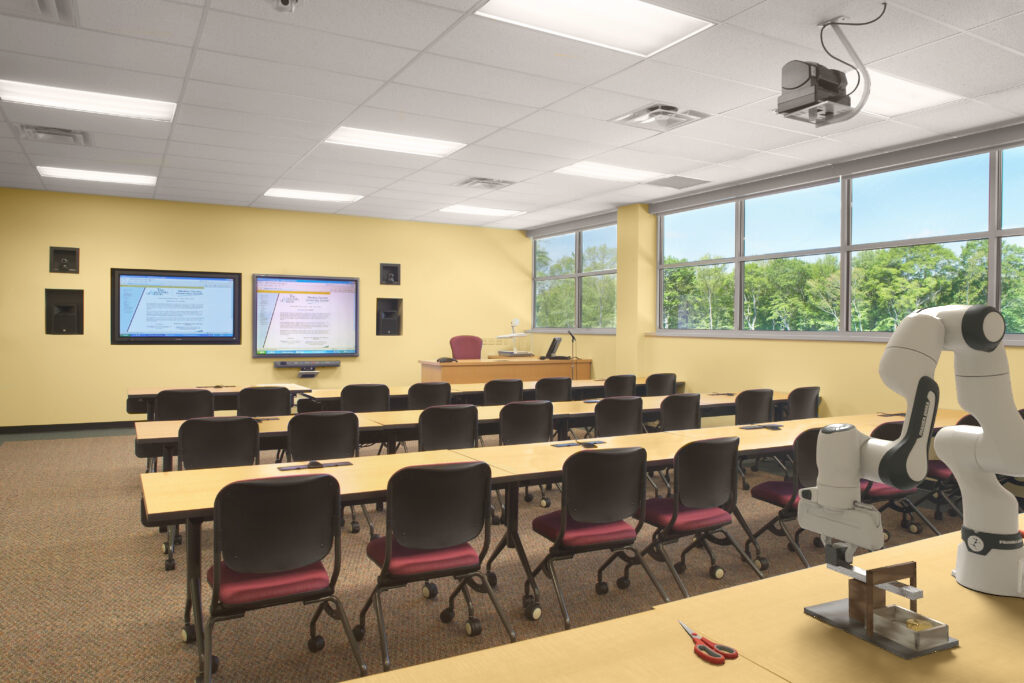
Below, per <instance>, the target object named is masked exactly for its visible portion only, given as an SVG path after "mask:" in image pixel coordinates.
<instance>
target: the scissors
mask: <svg viewBox="0 0 1024 683" xmlns="http://www.w3.org/2000/svg"><path fill="white" fill-rule="evenodd" d="M677 621H678V624H680V625H681V627H682V628H683V629H684V630H685V631H686V633H687V634H688V635H689V636H690V638H691V640H692V642H694V644H695V645H694V647H693V651H694V653H695V654H696V655H697V656H698V657H700V658H701V659H702V660H704V661H705V662H708V663H711V664H713V665H722V664H725V662H726V659H728V660H734V659H737V658H738V657H739V653H738V651H737V649H735V648H733V647H730V646H729V645H728V646H727V645H724V644H720V643H716V642H713V641H712V640H710V639H708V638H707V637H704V636H700V634H698V633H696V632H695V631H693V630H692V629H691V628H690V627H689V626H687V625H686V624H685V623H683V622H682V621H681V620H679V619H678V620H677ZM702 650H704V651H705V652H706V653H705V652H704V651H702ZM722 650H723V651H722ZM724 651H727V652H724ZM707 653H708V654H707Z"/></svg>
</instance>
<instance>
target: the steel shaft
mask: <svg viewBox="0 0 1024 683" xmlns="http://www.w3.org/2000/svg"><path fill="white" fill-rule="evenodd" d="M847 548H848V547H846V542H843V541H840V542H834V543H833V542H832V544H827V545H825V546H824V560H825V561H824V562H825V564H826V569H828V570H830V571H834V572H837V573H839V574H842V575H844V576H846V577H847V576H848V577H850V578H851V579H853V578H855V579H857V580H860V581H863V582H865V583H866V570H867V569H864V568H860V567H859V566H856V565H853V563H854V562H853V561H854V560H853V561H852V562H846V561H843V560H842V553H844V552H846V550H847ZM874 586H876V587H879V588H882V589H884V590H886V591H888V592H889V593H892V594H894V595H898V596H901V597H903V598H906V599H908V600H910V599H911V600H916V599H917V600H920V599H924V590H923V589H920V588H915V587H912V586H910V584H907V583H903V582H901V581H899V580H897V581H892V582H888V583H883V584H878V585H874Z"/></svg>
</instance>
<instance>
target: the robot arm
mask: <svg viewBox="0 0 1024 683" xmlns="http://www.w3.org/2000/svg"><path fill="white" fill-rule="evenodd" d="M1006 329H1007V326H1006V320H1005V318H1004V315H1003V314H1002V313H1001V312H1000V311H999V309H997V308H996V307H995V306H991V305H988V304H987V305H986V304H981V303H979V304H978V303H977V304H947V305H942V306H935V307H922V308H919V309H915V310H912V311H911V312H910V313H909V314H907V315H906V316H904V317H903V318H902V319H901V320H900V322H899V323H898V324H897V327H896V328H895V329H894V331H893V333H892V334H891V336H890V338H889V340H888V342H887V343H886V346H885V349H884V351H883V354H882V355H881V358H880V359H879V360H880V361H879V364H878V374H879V377H880V380H881V381H882V382H883V384H884V385H885V386H886V387H887V388H888V389H890V390H891V391H892V392H894V393H896V394H897V395H899V396H901V397H903V398H904V399H905V401H906V404H907V405H906V412H905V416H904V420H903V424H902V429H901V434H900V436H899V437H898V438H897V439H895V440H886V439H880V438H877V437H872V436H870V435H868V434H865V433H863V432H861V431H860V430H859V429H857V427H856V426H855V425H854V424H851V423H847V422H846V423H843V422H842V423H841V422H839V423H831V424H827V425H824V426H823V427H822V428H820V430H819V432H818V435H817V441H816V454H815V456H816V466H817V469H818V475H817V478H816V485H814V486H813V485H812V487H805V488H800V489H799V490H798V497H799V498H800V499H799V501H798V504H797V524H798V525H799V527H800V528H801V529H804V530H807V531H810V532H813V533H816V534H819V535H820V540H821V542H822V544H823V546H824V547H825V545H827V544H833V541H832V539H836V540H838V541H840V542H843V543H845V544H846V547H848V548H847V550H846V552H844V553H842V560H843V561H846V562H852V561H854V554H855V552H856V551H857V549H858V548H859V547H861V548H862V549H863V548H864V549H866V550H870V551H874V550H879V549H882V547H884V545H885V537H884V529H883V525H882V514H881V512H880V511H879V510H878V508H876V507H875V506H874V505H873V504H869V503H864V502H863V501H862V500H861V481H860V480H861V479H865V480H869V481H871V482H875V483H879V484H883V485H886V486H889V487H892V488H894V489H897V490H899V491H910V490H912V489H915V488H917V487H918V486H919V485H920V484H922V483H923V482H924V480H926V478H927V475H928V473H929V468H930V466H929V465H930V464H929V462H930V461H929V460H930V459H929V458H930V456H929V455H930V454H929V453H930V447H931V442H932V437H933V435H934V434H933V433H934V429H935V423H936V418H937V414H938V409H939V403H940V392H941V391H940V387H939V384H938V382H937V381H935V372H936V369H937V366H938V363H939V361H940V357H941V353H942V352H953V369H954V380H955V390H956V397H957V398H956V399H957V403H958V405H959V407H960V408H961V409H962V410H964V411H965V412H966V413H968V414H969V415H971V416H972V417H973V418H975V420H977V422H978V424H979V425H980V426H979V425H978V426H976V425H969V424H959V425H948V426H943V427H942V428H941V429H939V430H938V431H937V433H936V435H935V437H934V441H933V449H934V451H935V455H936V456H937V458H938V459H939V460H940V461H941V462H943V463H944V464H945V466H946V467H947V468H948V469H950V470H949V471H951V473H952V474H953V476H954V478H955V479H956V482H957V484H958V486H959V490H960V494H961V499H962V511H963V512H962V514H963V515H962V516H963V518H962V519H963V520H962V522H963V523H962V524H961V527H960V528H961V529H960V534H961V535H960V536H961V537H960V539H961V540H962V541H961V542H959V543H958V545H957V551H956V561H955V568H953V569H951V572H950V573H951V575H952V576H953V577H955V581H956V582H957V583H958V584H960V585H961V586H964V587H966V588H967V589H971V590H974V591H978V592H982V593H986V594H992V595H996V596H997V595H998V596H1005V597H1016V598H1017V597H1018V598H1024V530H1022V529H1019V502H1018V500H1017V498H1016V496H1015V495H1014V493H1012V492H1010V491H1009V490H1008V489H1006V488H1005V487H1004V486H1002V484H1001V483H1000V482H999V480H998V478H997V476H996V474H998V475H1002V476H1009V477H1014V478H1024V419H1023V417H1022V416H1021V414H1020V412H1019V410H1018V409H1017V406H1016V403H1015V400H1014V396H1013V395H1014V393H1013V389H1012V388H1013V387H1012V382H1011V375H1010V374H1011V373H1010V366H1009V365H1010V364H1009V359H1008V354H1007V352H1006V349H1005V344H1004V342H1003V339H1004V337H1005V334H1006ZM861 501H862V502H861Z"/></svg>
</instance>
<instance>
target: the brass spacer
mask: <svg viewBox="0 0 1024 683" xmlns="http://www.w3.org/2000/svg"><path fill="white" fill-rule="evenodd" d="M907 628H909V629H912V630H914V631H916V632H917V631H921V630H925V629H929V628H933V626H932V624H930V623H929V622H926V621H923V620H918V619H909V620H907Z"/></svg>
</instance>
